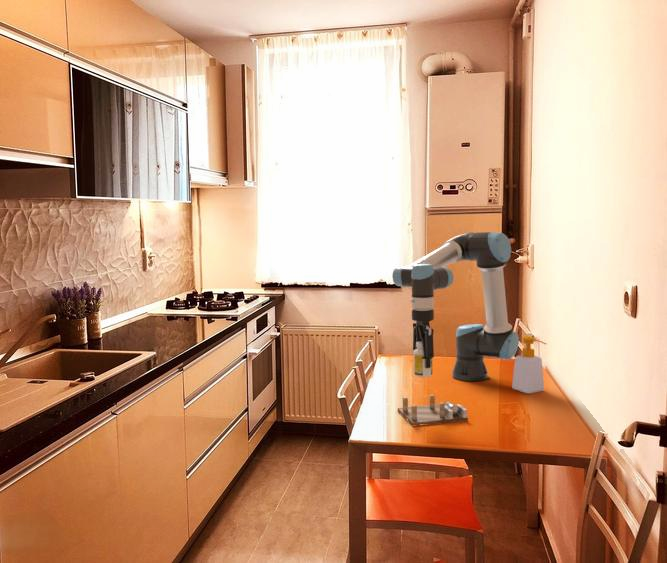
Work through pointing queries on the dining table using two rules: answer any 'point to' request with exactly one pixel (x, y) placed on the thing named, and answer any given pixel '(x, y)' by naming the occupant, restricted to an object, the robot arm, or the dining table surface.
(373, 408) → the dining table surface
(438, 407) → the board
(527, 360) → the soap bottle
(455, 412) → the pin
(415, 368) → the pill bottle
